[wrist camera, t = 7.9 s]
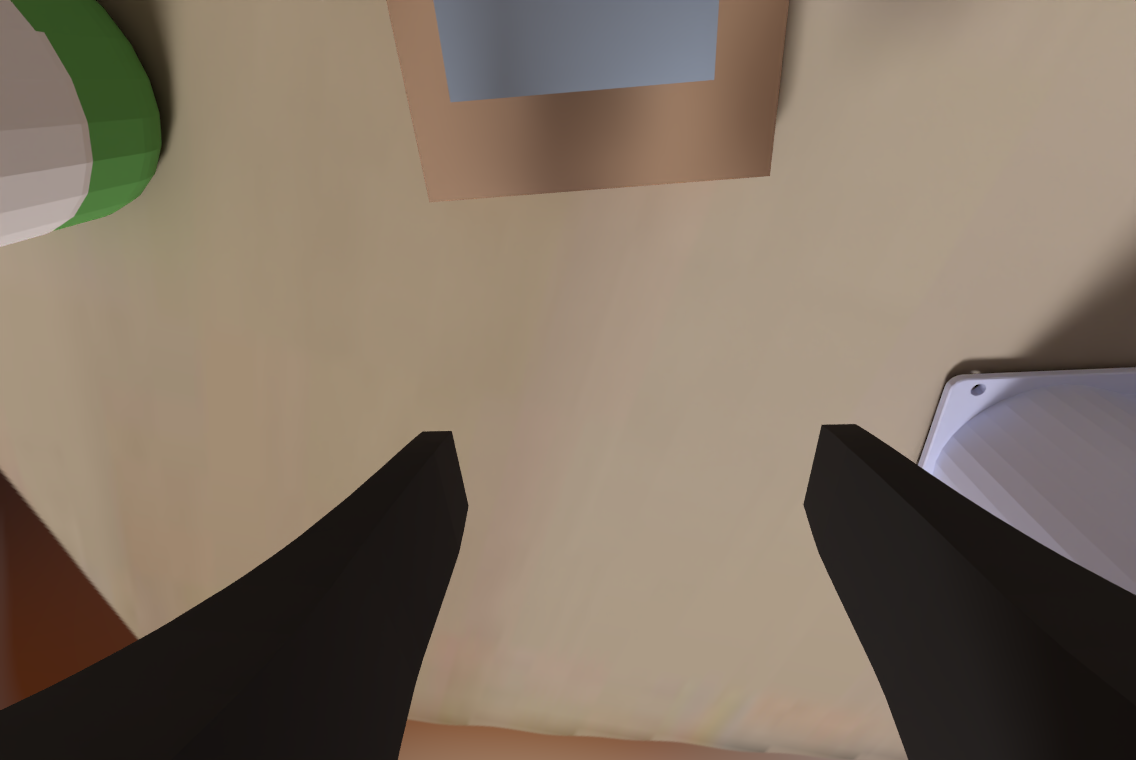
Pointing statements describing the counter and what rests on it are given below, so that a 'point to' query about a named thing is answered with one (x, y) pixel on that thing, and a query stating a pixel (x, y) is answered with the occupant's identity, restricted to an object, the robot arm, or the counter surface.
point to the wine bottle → (70, 117)
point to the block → (573, 45)
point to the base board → (597, 118)
